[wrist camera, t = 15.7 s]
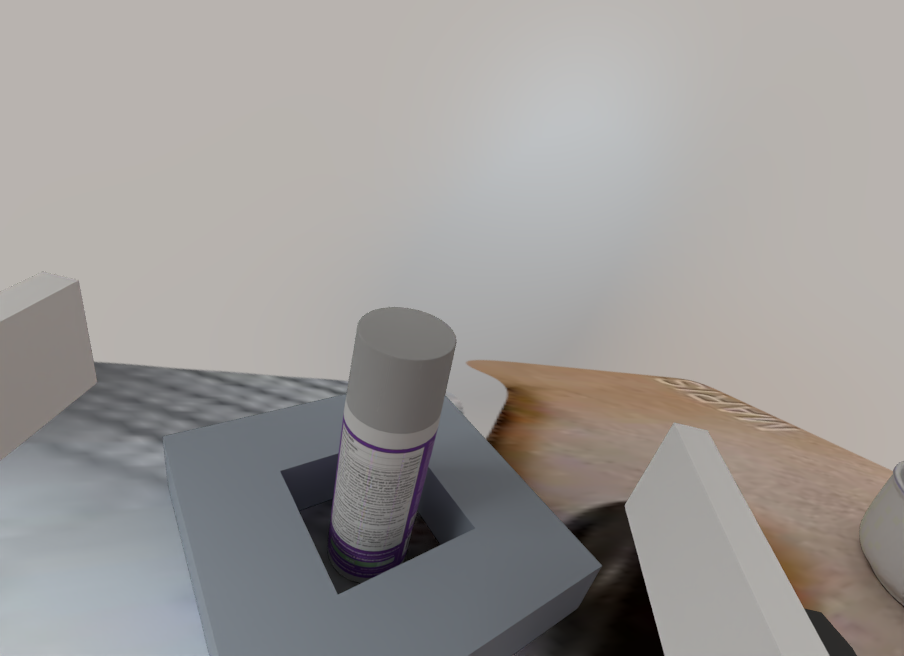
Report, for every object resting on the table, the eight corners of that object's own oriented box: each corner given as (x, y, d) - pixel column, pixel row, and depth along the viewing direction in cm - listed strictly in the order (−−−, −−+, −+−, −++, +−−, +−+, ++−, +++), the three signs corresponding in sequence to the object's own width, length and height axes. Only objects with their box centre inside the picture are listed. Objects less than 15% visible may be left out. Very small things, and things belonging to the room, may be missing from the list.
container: (366, 500, 32) (401, 296, 24) (422, 544, 30) (478, 337, 22) (309, 547, 28) (331, 324, 21) (369, 601, 26) (416, 375, 19)
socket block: (168, 485, 30) (162, 436, 28) (418, 414, 40) (426, 375, 38) (254, 839, 18) (255, 797, 16) (577, 608, 28) (602, 565, 26)
